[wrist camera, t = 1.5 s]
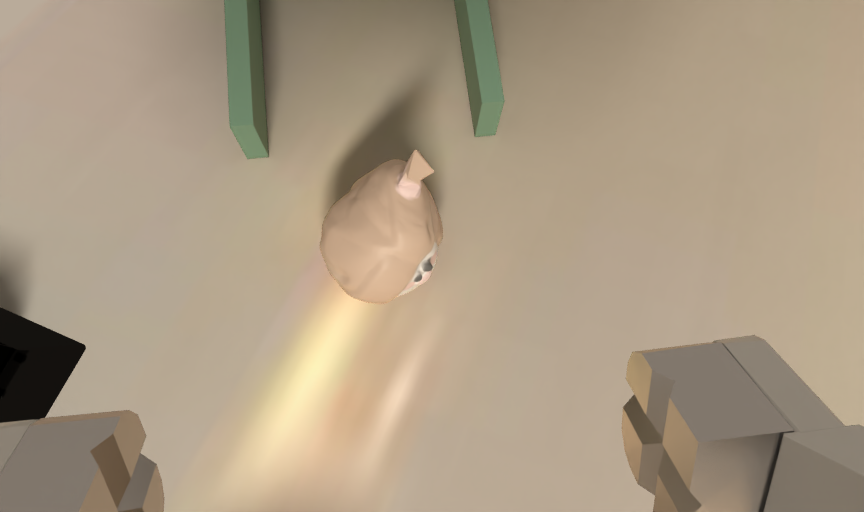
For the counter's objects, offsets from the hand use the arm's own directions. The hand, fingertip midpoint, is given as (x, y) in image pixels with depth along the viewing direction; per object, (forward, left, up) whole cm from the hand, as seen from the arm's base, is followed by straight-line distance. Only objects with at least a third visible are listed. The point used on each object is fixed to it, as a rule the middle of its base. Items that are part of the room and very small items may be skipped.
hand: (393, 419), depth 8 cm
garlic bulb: (-5, -9, -28) cm, 30 cm away
